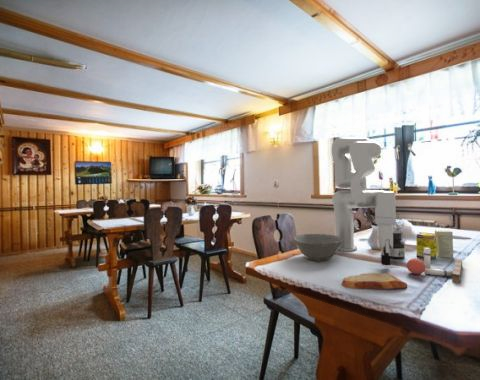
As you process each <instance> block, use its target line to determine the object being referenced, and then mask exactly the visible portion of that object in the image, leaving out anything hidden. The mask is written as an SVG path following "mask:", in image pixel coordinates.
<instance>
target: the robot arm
mask: <svg viewBox="0 0 480 380" xmlns="http://www.w3.org/2000/svg"><path fill="white" fill-rule="evenodd" d="M381 153H382V148H381V145H380V144H379V143H378V142H377V141H376V140H373V139H369V138H368V137H363V136H360V137H359V136H357V137H354V136H352V137H351V136H350V137H347V136H344V137H337V138H335V139H334V140H333V142H332V144H331V155H332V159H333V164H334V183H335V186H336V187H337V188H338V189H339V188H340V189H350V190H338V191H336V192H334V193H333V194H332V203H333V210H334V211H333V212H334V236H338V237H340V238H343V241H342V243H341V244H340V246H339V247H338V249H337V251H340V252H341V251H342V252H354V251H357V250H358V246H357V245H355V239H354V237H355V235H354V232H355V231H354V230H355V229H354V227H355V226H354V215H353V213H352V212H351V210H350V209H357V208H358V209H359V208H360V209H361V208H374V224H375V225H377V231H376V233H377V235H376V237H377V238H376V240H377V241H376V245H377V248H378V249H380V250H381V251H380V253H381V254H380V256H381V257H380V258H381V259H380V262H381V265H382V266H391V258H390V249H391V250H392V249H393V231H394V227H393V226H396V225H397V223H396V218H397V216H396V214H397V213H396V212H397V211H396V210H397V208H396V205H397V204H396V203H397V201H396V193H395V192H394V191H393V190H392V191H391V190H382V189H380V190H379V189H370V190H367V178H366V177H367V176H370V175H371V174H372V173H374V172H375V170H376V168H375V164H374V162H373V159H374V160H375V159H378V158H379V157H380V156H381ZM347 154H349V155H350V156H348V155H347ZM349 157H350V158H349ZM352 165H353V169H354V170H352Z"/></svg>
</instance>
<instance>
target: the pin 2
mask: <svg viewBox="0 0 480 380" xmlns="http://www.w3.org/2000/svg"><path fill="white" fill-rule="evenodd" d="M452 273H453V270H451V269H449V270H447V269H437V268H431V269H427V268H425V271H424V274H425V275H428V274H430V276H440V277H451V278H452Z"/></svg>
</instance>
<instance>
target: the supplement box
mask: <svg viewBox="0 0 480 380" xmlns="http://www.w3.org/2000/svg"><path fill="white" fill-rule="evenodd" d="M415 237H416V257H417V258H419V259H420V258H421V259H424V248H430V253H431V260H432V259H437V256H436V235H435V233H434V234H432V233H425V232H423V233H416V236H415Z"/></svg>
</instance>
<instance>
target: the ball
mask: <svg viewBox="0 0 480 380" xmlns="http://www.w3.org/2000/svg"><path fill="white" fill-rule="evenodd" d="M406 269H407V270H408V272H410V273H411V274H413V275H421V274H423V273H425V264H424V261H423V260H421V259H420V258H414V257H413V258H411V259H409V260H407V262H406Z"/></svg>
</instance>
